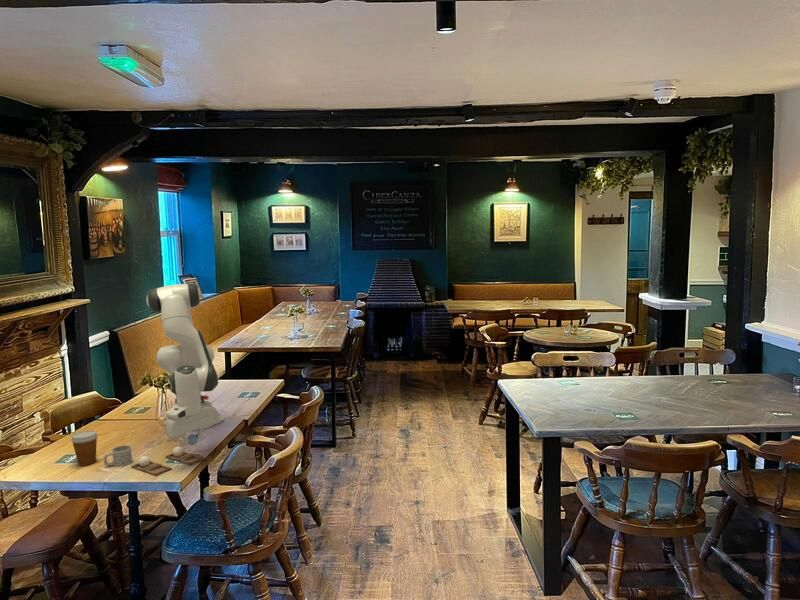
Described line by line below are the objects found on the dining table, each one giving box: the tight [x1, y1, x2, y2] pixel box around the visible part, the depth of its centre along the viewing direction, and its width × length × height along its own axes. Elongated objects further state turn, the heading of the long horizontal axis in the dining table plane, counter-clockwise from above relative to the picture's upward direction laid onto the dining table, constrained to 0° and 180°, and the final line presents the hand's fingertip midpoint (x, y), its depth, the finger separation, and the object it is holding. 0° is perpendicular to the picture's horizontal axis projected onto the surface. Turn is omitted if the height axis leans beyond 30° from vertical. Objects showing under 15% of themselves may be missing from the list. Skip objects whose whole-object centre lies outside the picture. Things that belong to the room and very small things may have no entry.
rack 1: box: [130, 460, 173, 477], centre depth 228 cm, size 16×7×1 cm, turn 56°
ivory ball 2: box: [172, 446, 184, 457], centre depth 239 cm, size 4×4×4 cm
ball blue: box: [187, 434, 199, 446], centre depth 234 cm, size 4×4×4 cm
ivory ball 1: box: [138, 455, 151, 467], centre depth 230 cm, size 4×4×4 cm
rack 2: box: [165, 450, 206, 466], centre depth 237 cm, size 16×7×1 cm, turn 56°
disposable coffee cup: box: [70, 429, 99, 467], centre depth 237 cm, size 10×10×12 cm
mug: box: [103, 445, 133, 467], centre depth 234 cm, size 10×7×7 cm, turn 127°
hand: (192, 441), depth 234 cm, fingers closed on ball blue, 4 cm apart
